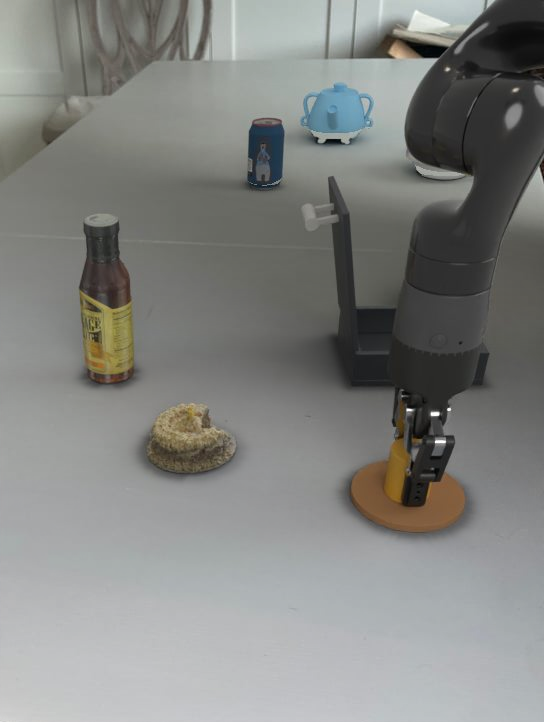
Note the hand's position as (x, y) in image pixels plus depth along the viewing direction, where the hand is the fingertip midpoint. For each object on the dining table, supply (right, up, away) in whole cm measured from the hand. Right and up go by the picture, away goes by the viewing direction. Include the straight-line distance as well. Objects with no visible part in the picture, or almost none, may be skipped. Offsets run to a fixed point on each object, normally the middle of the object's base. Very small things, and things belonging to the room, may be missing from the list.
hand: (407, 488), depth 80 cm
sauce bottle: (-31, +15, +23) cm, 41 cm away
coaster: (0, -1, +1) cm, 1 cm away
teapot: (+16, +84, +108) cm, 138 cm away
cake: (-21, +4, +9) cm, 23 cm away
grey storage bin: (+7, +17, +23) cm, 30 cm away
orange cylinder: (0, 0, 0) cm, 0 cm away
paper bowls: (+33, +67, +85) cm, 113 cm away
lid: (-2, +27, +16) cm, 32 cm away
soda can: (-3, +63, +83) cm, 104 cm away
